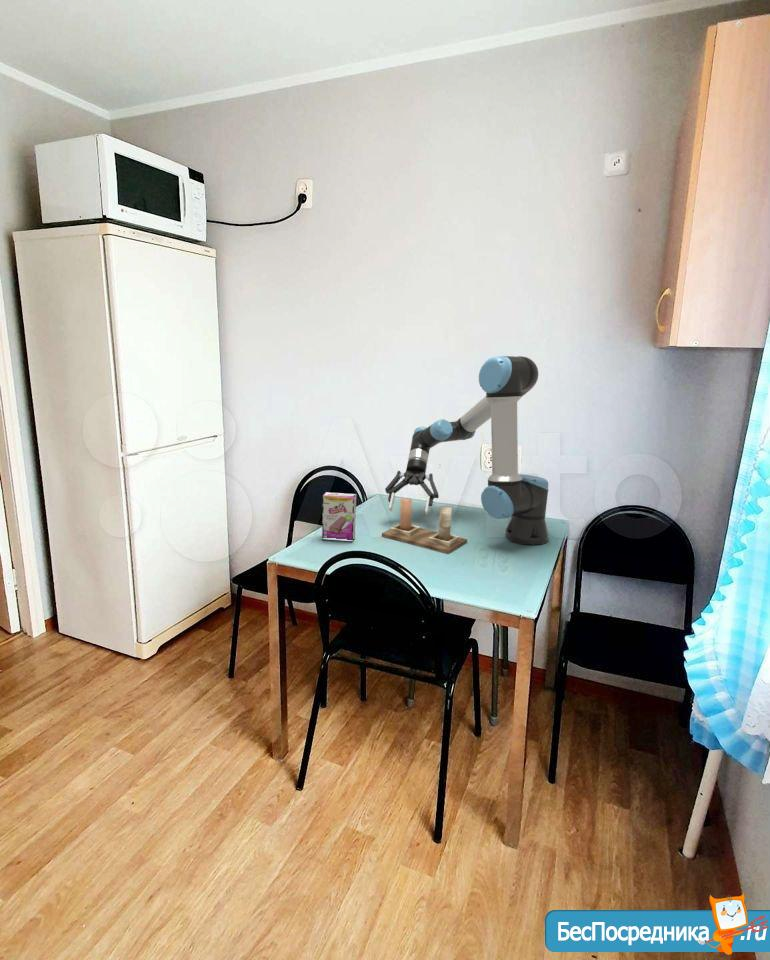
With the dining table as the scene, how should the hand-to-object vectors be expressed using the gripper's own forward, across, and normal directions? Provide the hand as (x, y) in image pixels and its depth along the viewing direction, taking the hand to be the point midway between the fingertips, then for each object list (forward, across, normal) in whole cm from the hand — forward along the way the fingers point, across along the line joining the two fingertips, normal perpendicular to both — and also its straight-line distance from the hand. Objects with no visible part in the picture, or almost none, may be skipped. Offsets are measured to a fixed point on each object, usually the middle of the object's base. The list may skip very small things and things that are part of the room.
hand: (408, 511), depth 207 cm
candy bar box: (+18, +21, +7) cm, 29 cm away
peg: (+8, 0, 0) cm, 8 cm away
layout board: (+11, -8, +1) cm, 13 cm away
